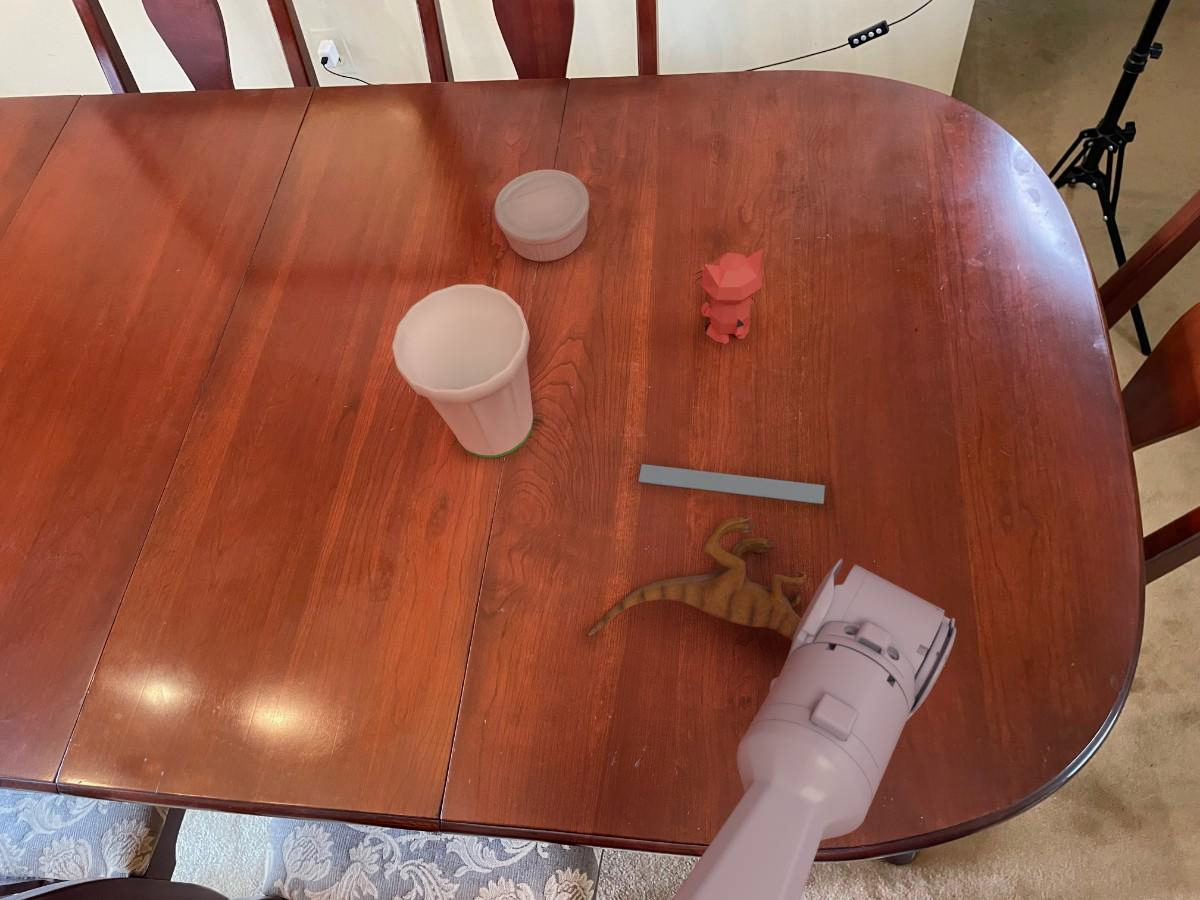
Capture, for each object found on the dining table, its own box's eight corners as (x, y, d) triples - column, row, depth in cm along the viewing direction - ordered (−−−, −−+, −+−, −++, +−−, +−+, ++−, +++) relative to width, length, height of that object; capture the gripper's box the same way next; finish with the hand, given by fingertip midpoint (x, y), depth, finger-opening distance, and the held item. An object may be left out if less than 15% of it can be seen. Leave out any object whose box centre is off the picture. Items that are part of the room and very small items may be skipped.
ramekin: (542, 188, 106) (535, 155, 102) (612, 224, 102) (608, 191, 98) (483, 245, 103) (473, 213, 98) (553, 284, 98) (546, 252, 94)
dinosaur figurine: (852, 566, 78) (835, 694, 73) (618, 520, 83) (587, 637, 77) (864, 538, 72) (846, 674, 67) (611, 490, 77) (577, 614, 72)
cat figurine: (750, 300, 94) (756, 221, 84) (772, 347, 91) (781, 271, 80) (689, 316, 94) (688, 240, 84) (709, 364, 91) (710, 291, 80)
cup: (531, 486, 85) (500, 405, 72) (419, 462, 88) (369, 379, 75) (567, 386, 91) (545, 293, 78) (461, 366, 94) (422, 273, 81)
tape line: (823, 504, 81) (823, 503, 81) (638, 482, 84) (638, 481, 84) (824, 486, 82) (824, 485, 82) (641, 464, 85) (641, 463, 85)
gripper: (784, 560, 54) (769, 627, 65) (764, 804, 47) (751, 829, 59) (900, 575, 52) (863, 640, 64) (897, 827, 46) (857, 848, 57)
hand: (817, 731), depth 61 cm, fingers closed
